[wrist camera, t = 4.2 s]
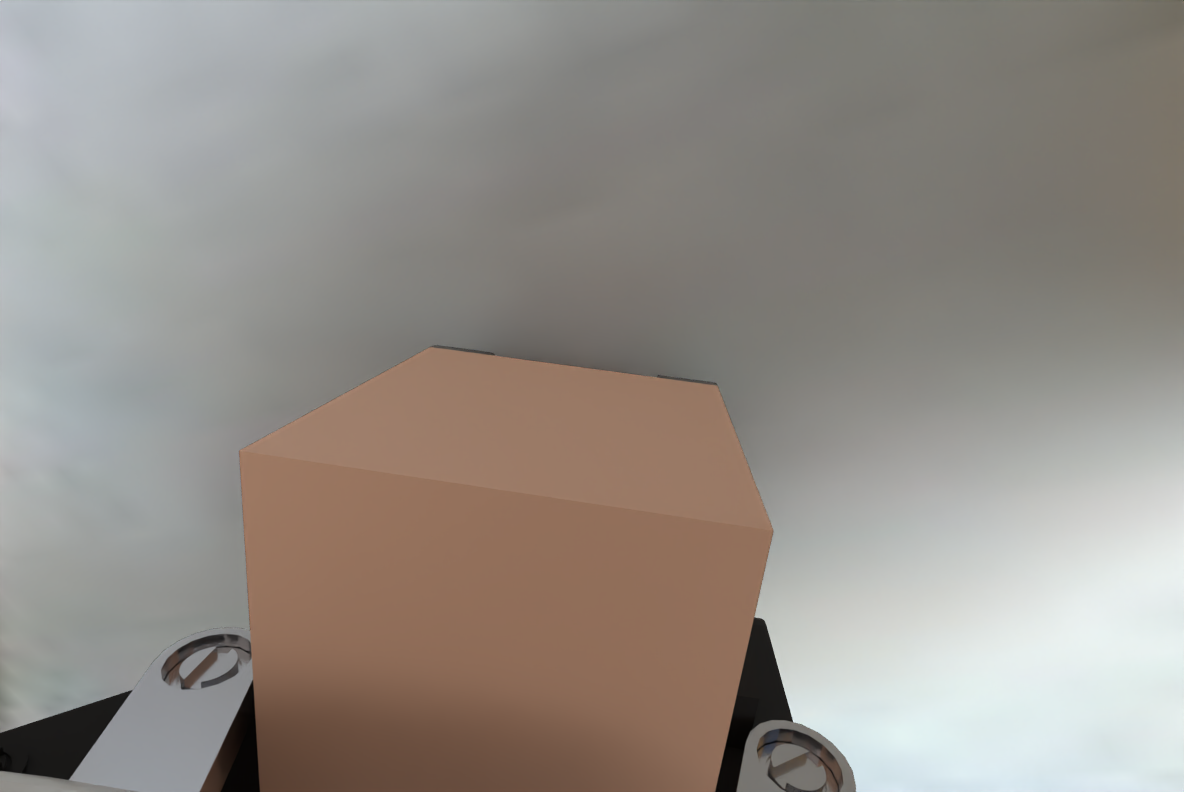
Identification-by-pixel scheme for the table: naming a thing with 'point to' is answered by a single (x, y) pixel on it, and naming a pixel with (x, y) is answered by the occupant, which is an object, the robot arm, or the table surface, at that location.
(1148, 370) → the table surface
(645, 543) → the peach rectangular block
